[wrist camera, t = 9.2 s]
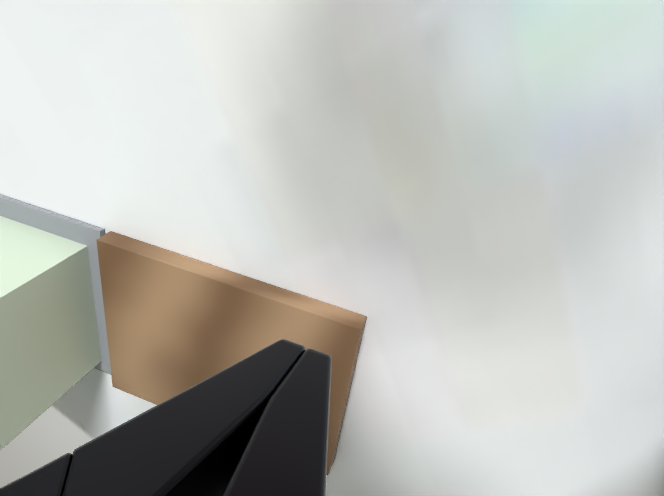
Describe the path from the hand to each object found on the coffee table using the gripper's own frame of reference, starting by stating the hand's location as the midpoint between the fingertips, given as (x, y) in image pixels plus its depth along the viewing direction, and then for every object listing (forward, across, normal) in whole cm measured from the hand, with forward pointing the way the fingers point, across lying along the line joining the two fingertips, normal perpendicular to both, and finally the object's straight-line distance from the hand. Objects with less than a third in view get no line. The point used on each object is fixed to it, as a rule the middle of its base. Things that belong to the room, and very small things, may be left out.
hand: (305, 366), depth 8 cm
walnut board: (+12, +8, +13) cm, 19 cm away
